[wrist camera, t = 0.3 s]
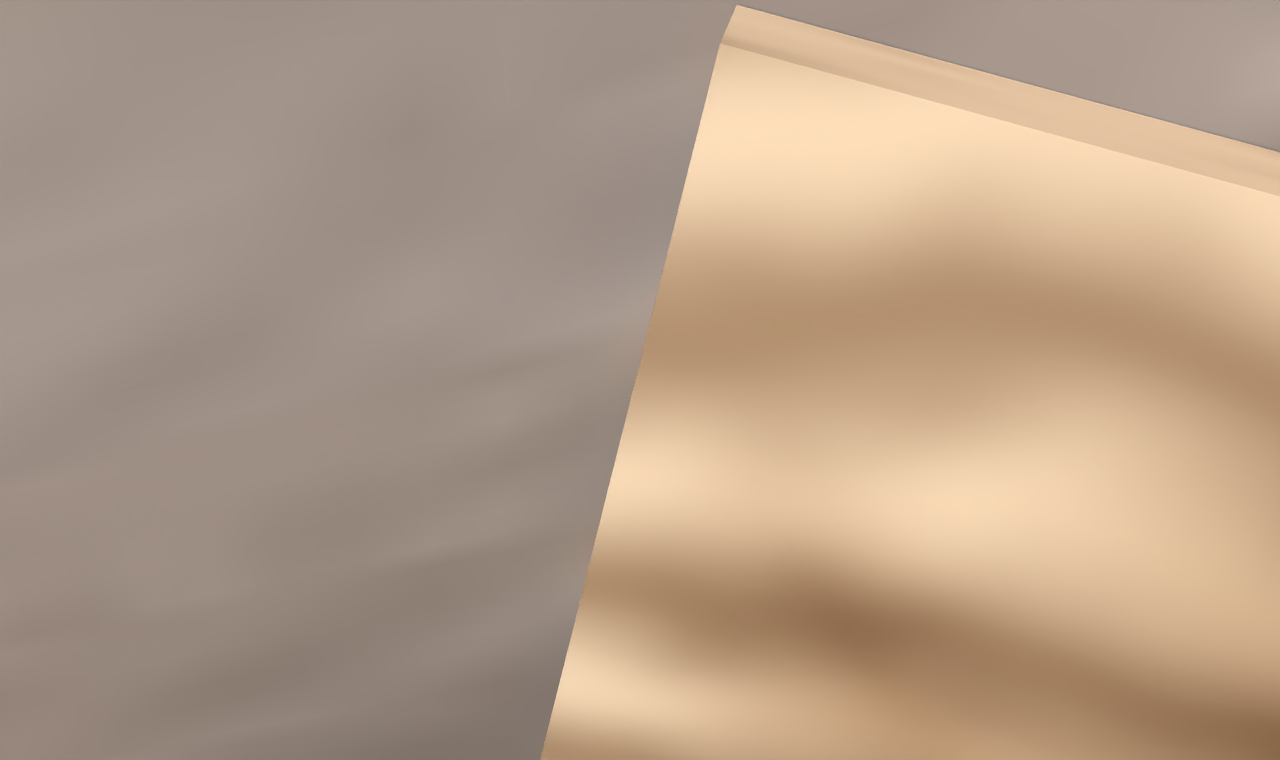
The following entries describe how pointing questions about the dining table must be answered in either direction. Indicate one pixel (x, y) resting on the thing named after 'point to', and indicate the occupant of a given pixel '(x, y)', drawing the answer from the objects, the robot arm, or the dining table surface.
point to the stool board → (942, 432)
